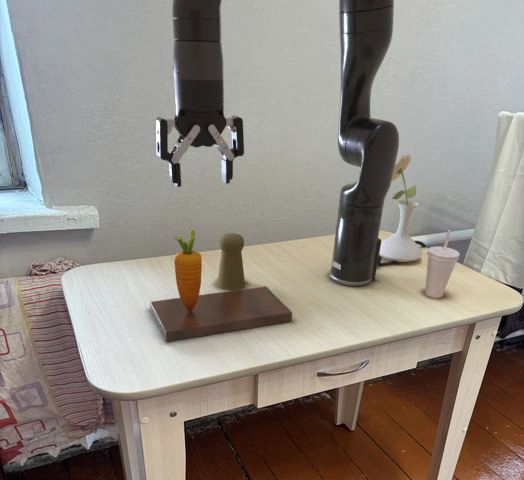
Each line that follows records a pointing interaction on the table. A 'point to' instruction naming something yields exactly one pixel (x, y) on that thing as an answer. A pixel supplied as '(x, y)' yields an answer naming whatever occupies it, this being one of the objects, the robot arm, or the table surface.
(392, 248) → the flower in vase
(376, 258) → the robot arm
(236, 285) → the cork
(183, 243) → the carrot
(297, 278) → the table surface
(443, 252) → the smoothie
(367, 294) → the table surface
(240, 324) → the cutting board
